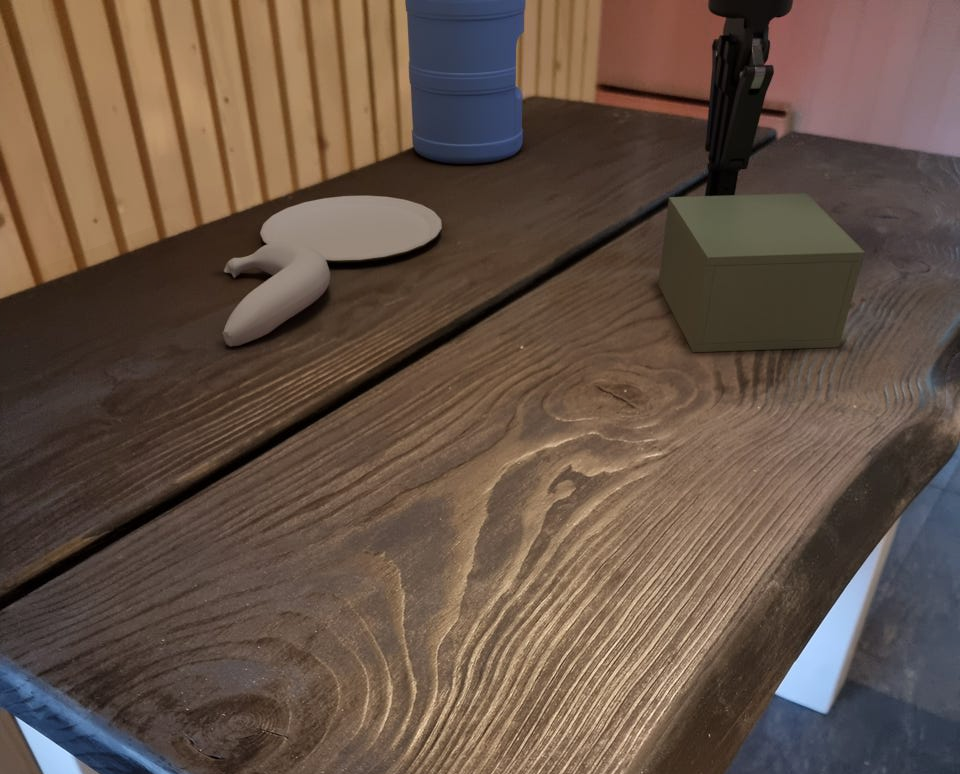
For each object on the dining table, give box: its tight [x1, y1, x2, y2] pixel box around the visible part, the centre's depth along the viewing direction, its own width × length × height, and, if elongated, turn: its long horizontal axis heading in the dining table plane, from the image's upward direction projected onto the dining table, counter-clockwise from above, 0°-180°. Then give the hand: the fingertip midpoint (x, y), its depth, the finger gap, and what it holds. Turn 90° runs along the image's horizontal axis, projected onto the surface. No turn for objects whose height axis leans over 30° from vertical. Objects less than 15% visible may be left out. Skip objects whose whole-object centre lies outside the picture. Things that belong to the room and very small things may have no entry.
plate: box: [259, 195, 443, 264], centre depth 106 cm, size 21×21×1 cm
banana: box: [221, 241, 331, 348], centre depth 91 cm, size 5×19×15 cm
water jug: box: [404, 0, 527, 165], centre depth 122 cm, size 16×16×28 cm
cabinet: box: [657, 192, 865, 353], centre depth 87 cm, size 16×14×9 cm
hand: (713, 233), depth 98 cm, fingers closed
